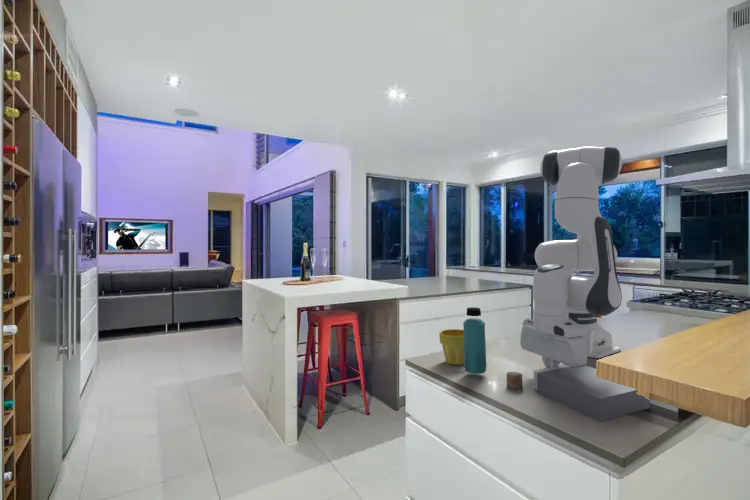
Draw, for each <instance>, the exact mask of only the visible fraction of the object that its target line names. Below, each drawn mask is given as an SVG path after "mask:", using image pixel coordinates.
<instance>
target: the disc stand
mask: <svg viewBox="0 0 750 500" xmlns="http://www.w3.org/2000/svg"><path fill="white" fill-rule="evenodd" d="M523 383H524V382H523V374H522V373H520V372H516V371H508V372H506V388H507V389H510V390H513V391H521V390H523V385H524V384H523Z"/></svg>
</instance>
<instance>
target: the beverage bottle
mask: <svg viewBox="0 0 750 500" xmlns="http://www.w3.org/2000/svg"><path fill="white" fill-rule="evenodd" d="M466 316H468V317H470V318H466V319H465V320H464V321H463V322H462V324H463V326H462V327H463V330H464V345H463V346H464V349H463V350H464V364H463V367H464V372H466V373H469V374H472V375H473V374H474V375H479V374H485V373H486V372H487V366H488V365H487V345H486V323H485V321H484V320H482V319H481V318H477V317H481V316H482V311H481V308H480V307H475V306H474V307H470V306H469V307H467V308H466Z"/></svg>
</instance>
